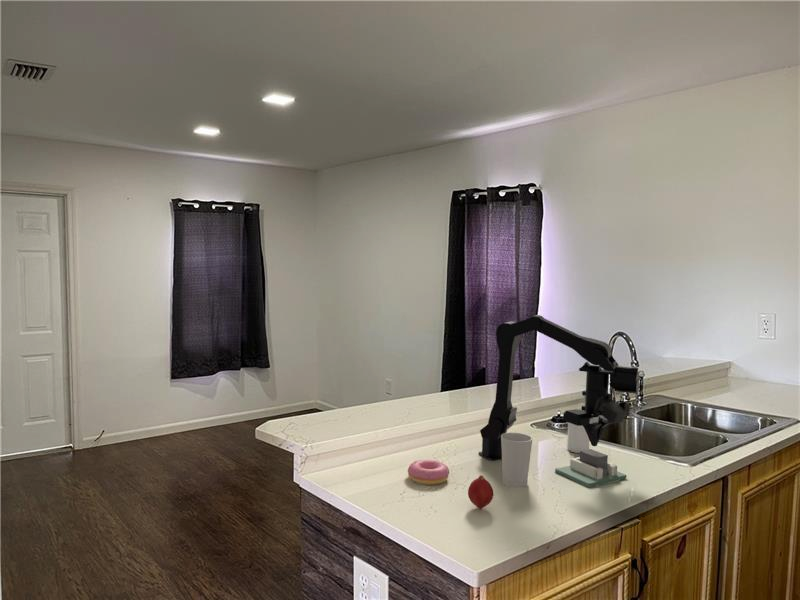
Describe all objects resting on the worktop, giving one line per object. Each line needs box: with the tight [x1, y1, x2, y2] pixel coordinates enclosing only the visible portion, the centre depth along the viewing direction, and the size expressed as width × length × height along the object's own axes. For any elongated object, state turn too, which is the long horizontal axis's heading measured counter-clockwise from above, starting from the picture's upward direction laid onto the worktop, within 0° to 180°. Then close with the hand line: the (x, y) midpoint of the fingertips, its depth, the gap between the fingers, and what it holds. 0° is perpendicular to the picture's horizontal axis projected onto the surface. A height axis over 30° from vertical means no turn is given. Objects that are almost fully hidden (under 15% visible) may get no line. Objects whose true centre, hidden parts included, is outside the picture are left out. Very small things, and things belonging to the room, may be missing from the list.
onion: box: [467, 474, 494, 510], centre depth 136 cm, size 6×6×8 cm
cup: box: [501, 432, 533, 488], centre depth 153 cm, size 8×8×12 cm
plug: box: [579, 448, 609, 477], centre depth 160 cm, size 4×7×5 cm, turn 30°
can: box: [566, 409, 590, 454], centre depth 181 cm, size 6×6×12 cm
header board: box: [554, 456, 627, 488], centre depth 160 cm, size 14×12×4 cm
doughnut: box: [407, 459, 450, 486], centre depth 155 cm, size 11×11×4 cm
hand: (594, 445), depth 160 cm, fingers closed
